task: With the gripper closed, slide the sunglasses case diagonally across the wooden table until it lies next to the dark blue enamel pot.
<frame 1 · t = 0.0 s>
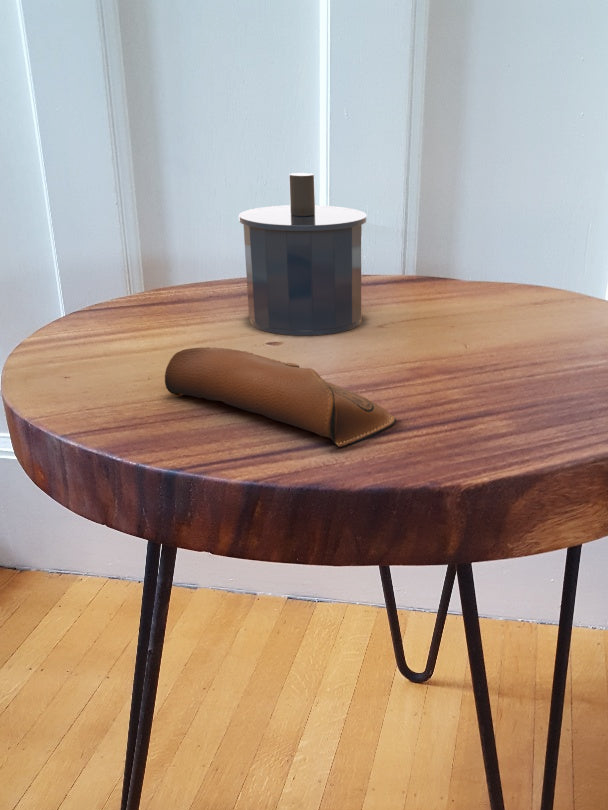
pot lid: (303, 220, 93), point 9 cm above the table, touching pot
sunglasses case: (280, 413, 75), on the table
pot: (306, 320, 98), on the table
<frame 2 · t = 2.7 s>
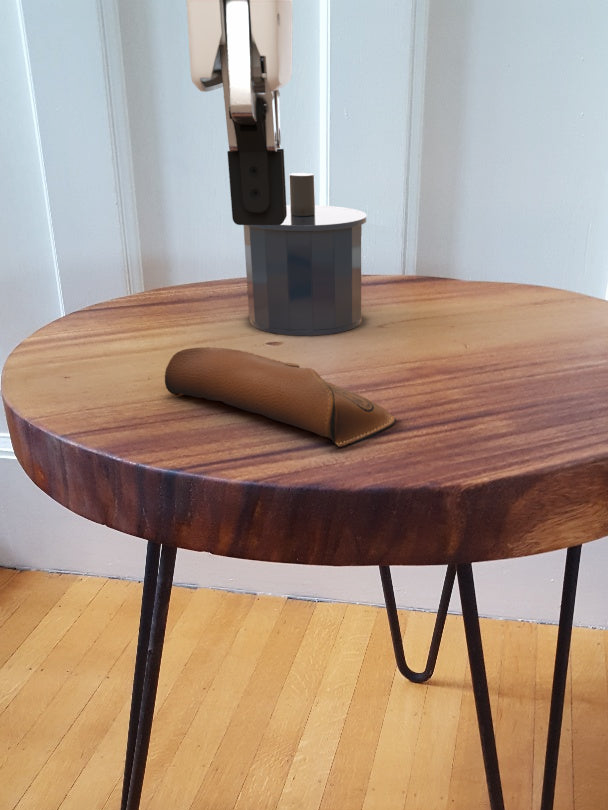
hand: (260, 222, 59), 15 cm above the table, tool pointing down, fingers closed
nothing on the table moved.
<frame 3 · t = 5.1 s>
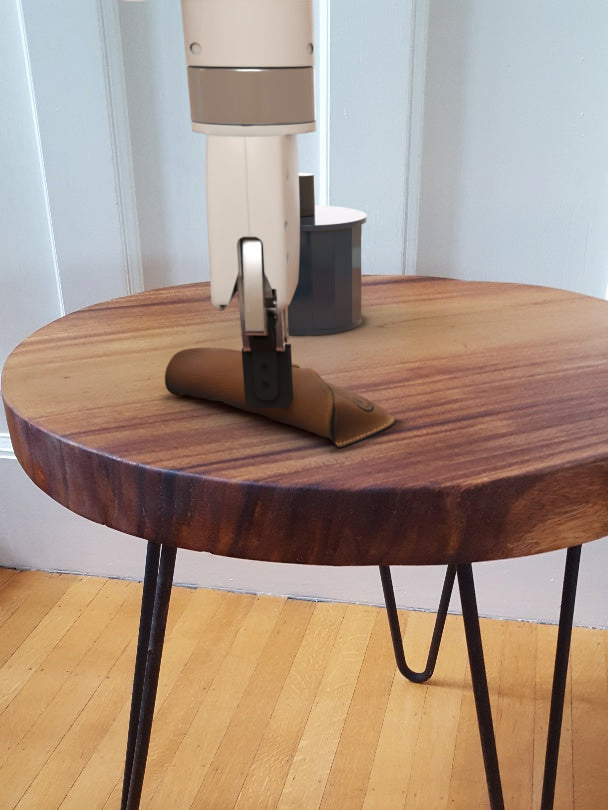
hand: (269, 404, 67), 3 cm above the table, tool pointing down, fingers closed
sunglasses case: (280, 414, 75), on the table, touching gripper
everything else where it was.
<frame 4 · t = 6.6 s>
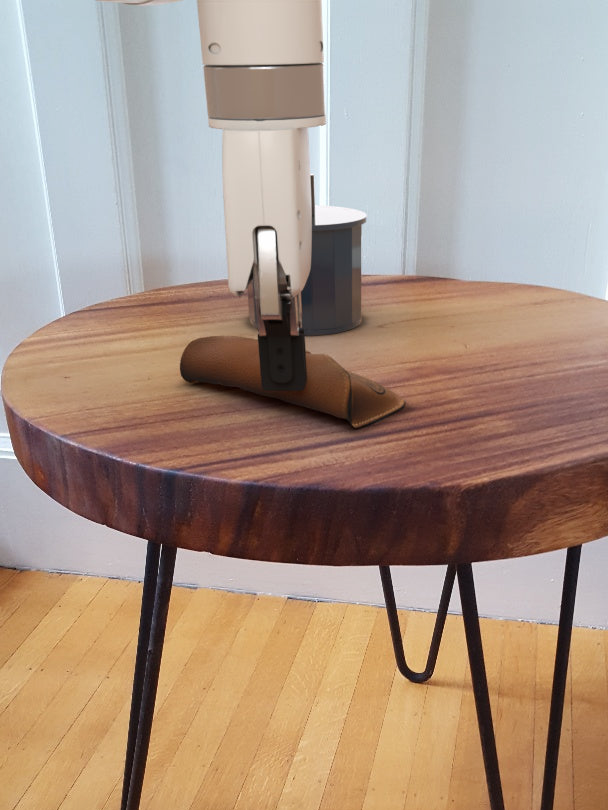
hand: (284, 386, 71), 3 cm above the table, tool pointing down, fingers closed
sunglasses case: (292, 399, 78), on the table, touching gripper
everything else where it was.
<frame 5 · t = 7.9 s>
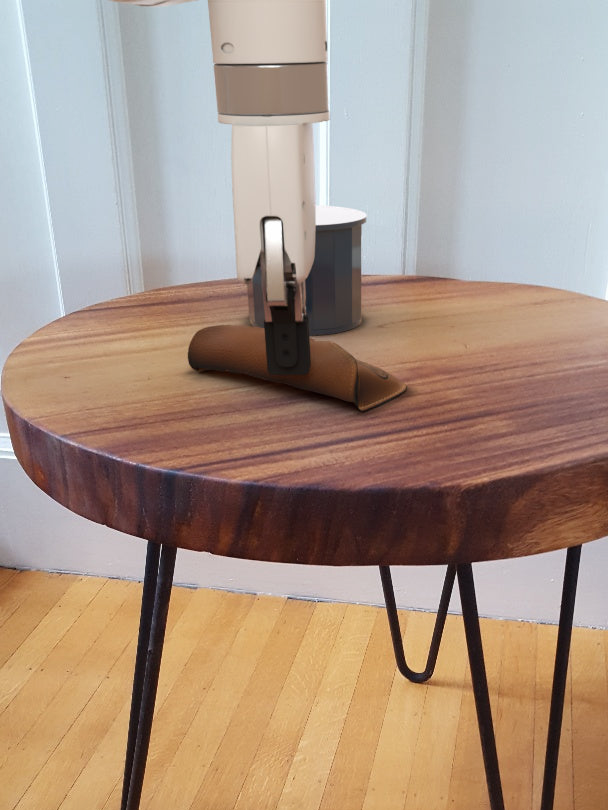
hand: (289, 371, 74), 3 cm above the table, tool pointing down, fingers closed
sunglasses case: (298, 385, 81), on the table, touching gripper
everything else where it was.
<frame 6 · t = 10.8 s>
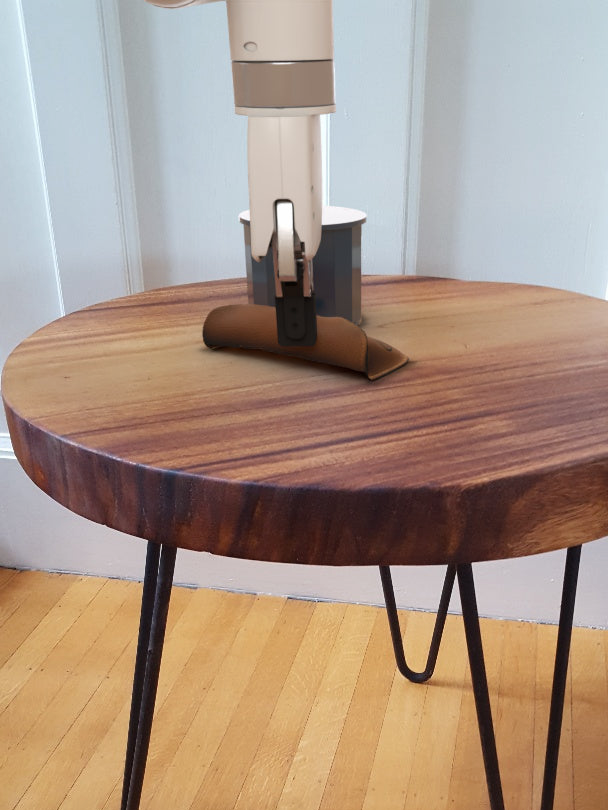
hand: (297, 343, 81), 3 cm above the table, tool pointing down, fingers closed
sunglasses case: (306, 359, 87), on the table, touching gripper
everything else where it was.
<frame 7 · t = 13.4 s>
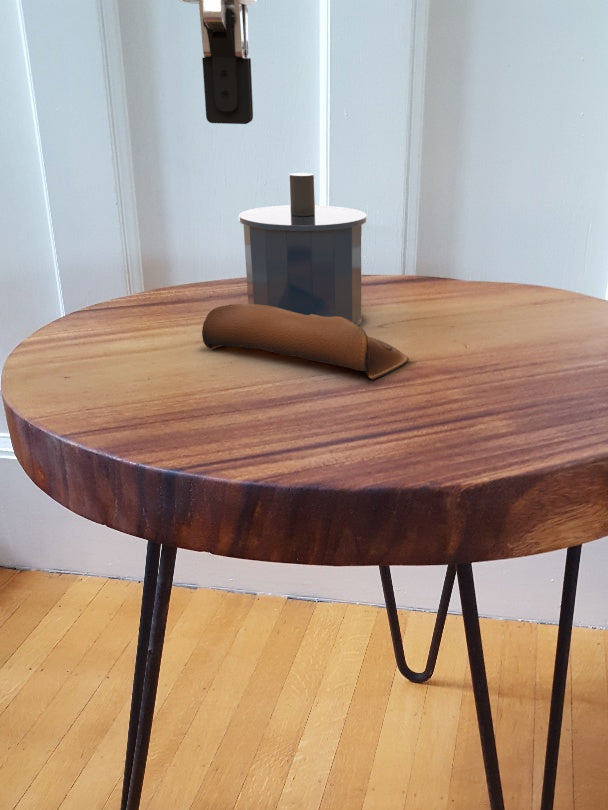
hand: (230, 122, 70), 19 cm above the table, tool pointing down, fingers closed
sunglasses case: (306, 358, 87), on the table
everything else where it was.
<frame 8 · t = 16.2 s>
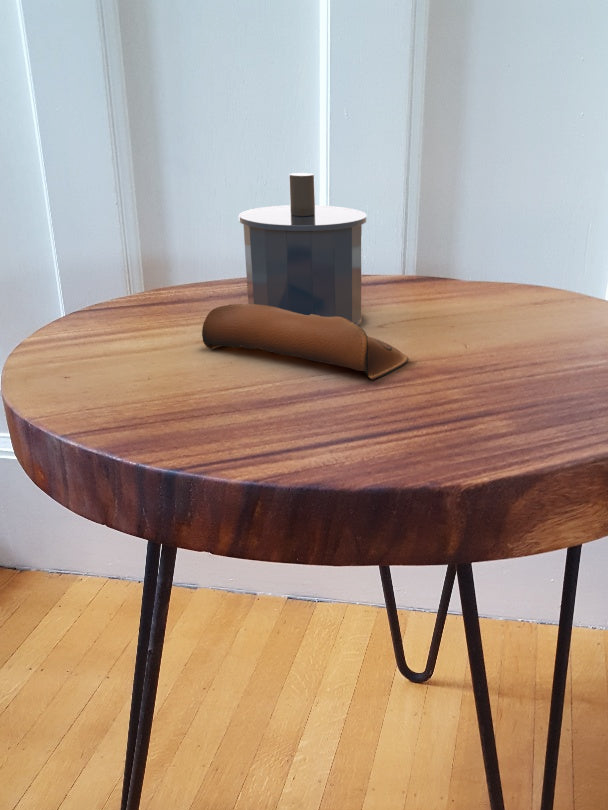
nothing on the table moved.
at the end: sunglasses case 13.0 cm from the pot (horizontally); sunglasses case moved 15.1 cm from its start; sunglasses case tilted 0° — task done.
